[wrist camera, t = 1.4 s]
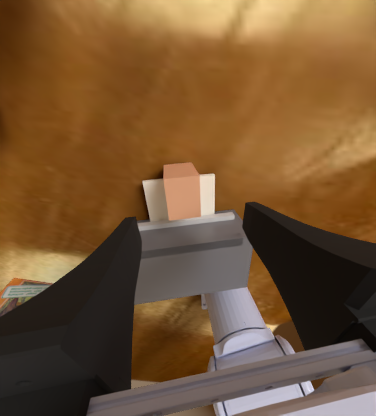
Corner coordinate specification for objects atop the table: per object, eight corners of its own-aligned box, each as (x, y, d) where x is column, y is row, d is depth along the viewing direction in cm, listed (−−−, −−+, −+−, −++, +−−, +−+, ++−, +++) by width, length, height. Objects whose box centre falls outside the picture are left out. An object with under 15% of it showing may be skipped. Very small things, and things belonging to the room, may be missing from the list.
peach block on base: (213, 252, 25) (223, 281, 20) (158, 260, 24) (157, 291, 20) (213, 160, 18) (228, 172, 14) (140, 167, 18) (132, 182, 13)
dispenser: (230, 253, 26) (246, 287, 21) (140, 266, 25) (134, 304, 20) (233, 205, 22) (255, 231, 17) (127, 217, 21) (114, 249, 16)
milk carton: (94, 289, 27) (-28, 578, 10) (84, 327, 31) (-13, 576, 14) (14, 277, 24) (-353, 660, 7) (15, 321, 28) (-214, 627, 11)
